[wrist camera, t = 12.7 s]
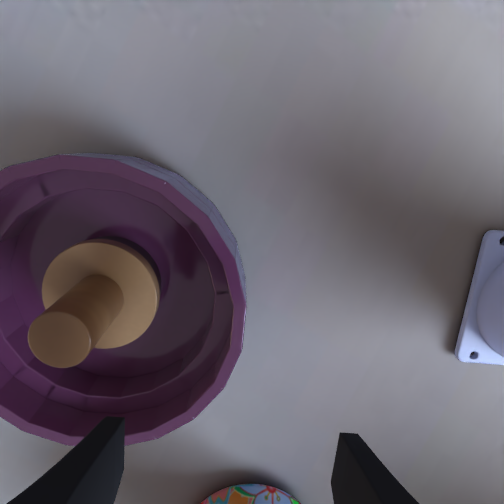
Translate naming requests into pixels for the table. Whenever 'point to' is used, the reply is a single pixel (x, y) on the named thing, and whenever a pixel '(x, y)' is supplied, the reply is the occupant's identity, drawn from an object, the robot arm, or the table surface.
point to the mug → (250, 495)
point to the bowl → (165, 320)
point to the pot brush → (94, 300)
